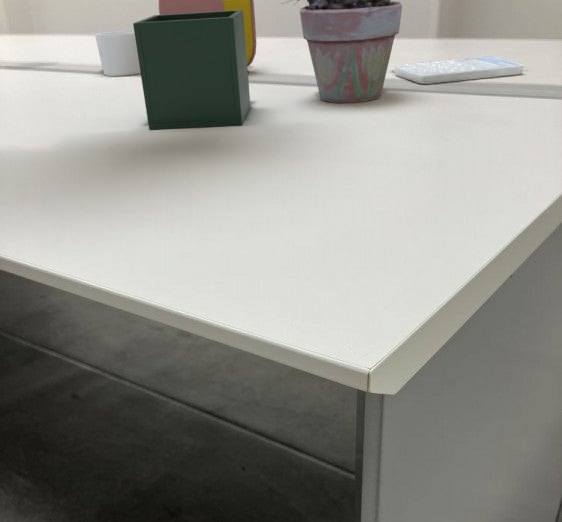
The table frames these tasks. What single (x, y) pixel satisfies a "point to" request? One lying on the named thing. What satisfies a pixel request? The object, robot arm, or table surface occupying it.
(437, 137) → the table surface
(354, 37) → the potted plant
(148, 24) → the trash can
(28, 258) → the table surface
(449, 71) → the calculator
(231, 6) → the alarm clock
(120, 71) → the mug
